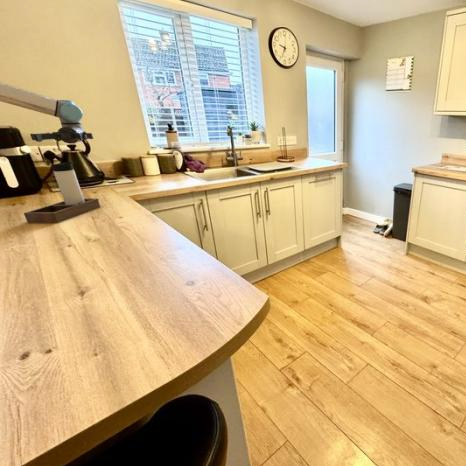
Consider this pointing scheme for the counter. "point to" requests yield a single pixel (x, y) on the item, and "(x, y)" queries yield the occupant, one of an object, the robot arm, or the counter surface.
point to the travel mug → (68, 183)
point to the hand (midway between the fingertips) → (58, 137)
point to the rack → (60, 211)
